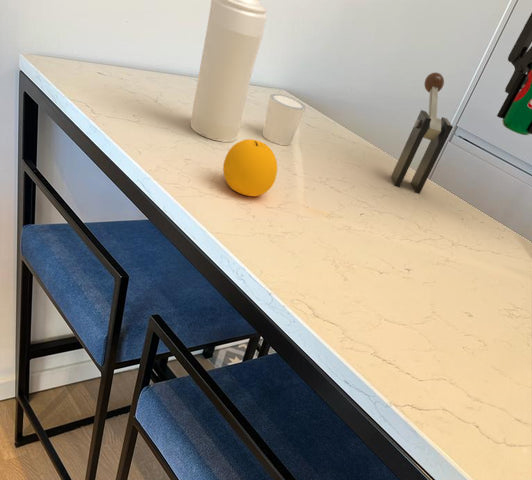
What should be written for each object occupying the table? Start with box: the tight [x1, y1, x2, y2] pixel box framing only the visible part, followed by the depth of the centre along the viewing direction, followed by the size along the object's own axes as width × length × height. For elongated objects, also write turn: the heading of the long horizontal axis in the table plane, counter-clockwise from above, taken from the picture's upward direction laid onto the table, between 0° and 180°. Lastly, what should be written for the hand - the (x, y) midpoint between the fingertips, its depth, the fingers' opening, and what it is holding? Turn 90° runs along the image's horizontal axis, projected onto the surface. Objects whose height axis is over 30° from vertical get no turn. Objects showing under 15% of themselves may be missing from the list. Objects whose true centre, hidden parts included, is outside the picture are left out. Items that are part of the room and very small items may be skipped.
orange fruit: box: [222, 138, 278, 197], centre depth 83 cm, size 8×8×8 cm
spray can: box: [190, 0, 268, 143], centre depth 92 cm, size 12×11×25 cm
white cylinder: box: [262, 93, 306, 146], centre depth 105 cm, size 7×7×7 cm
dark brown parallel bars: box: [390, 109, 454, 195], centre depth 102 cm, size 10×8×14 cm
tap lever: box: [423, 72, 445, 141], centre depth 101 cm, size 14×3×3 cm, turn 178°
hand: (517, 124), depth 89 cm, fingers closed on soda can, 5 cm apart
